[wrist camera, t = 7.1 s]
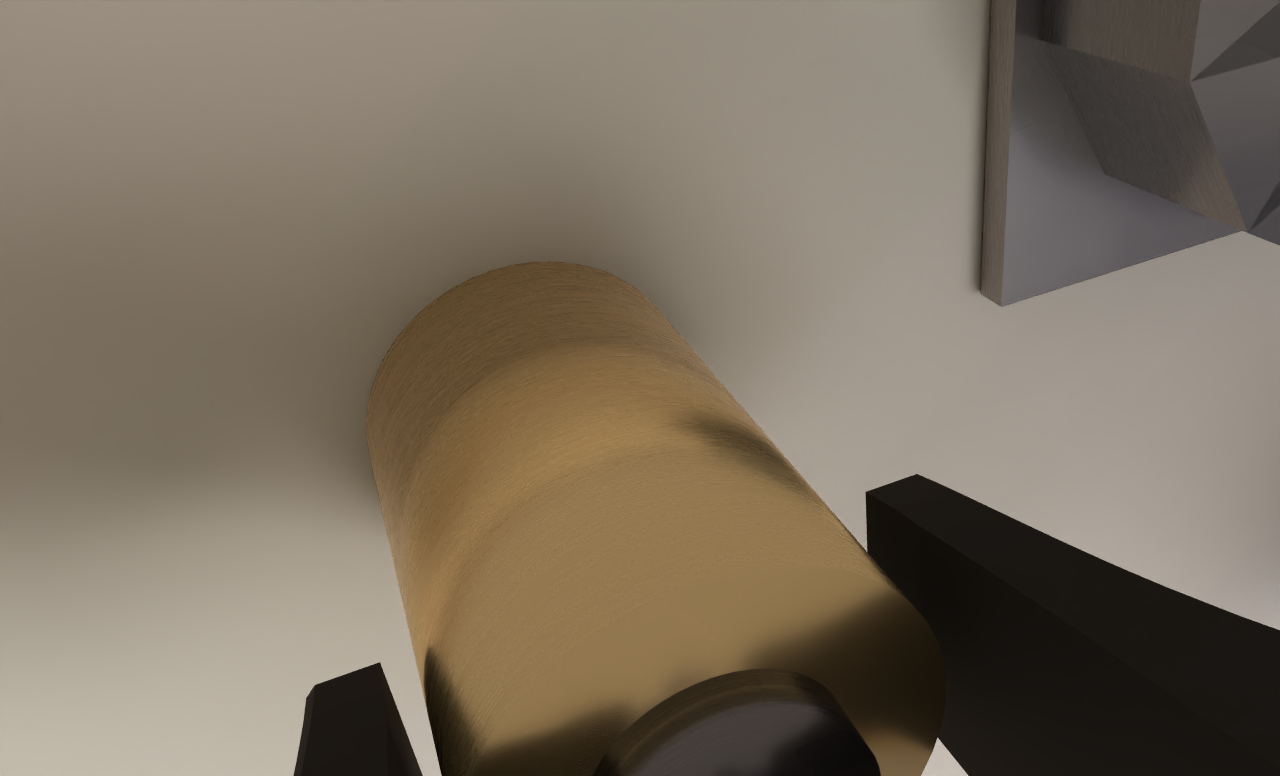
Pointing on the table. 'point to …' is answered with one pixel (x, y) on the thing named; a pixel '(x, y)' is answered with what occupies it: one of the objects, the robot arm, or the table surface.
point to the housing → (1125, 135)
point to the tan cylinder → (625, 555)
